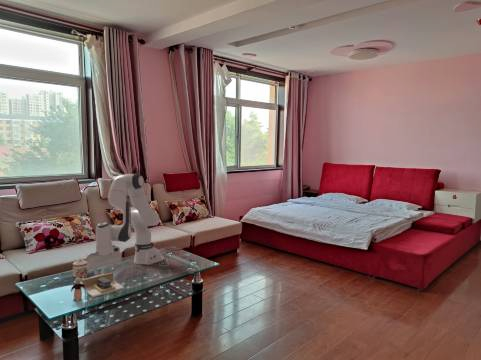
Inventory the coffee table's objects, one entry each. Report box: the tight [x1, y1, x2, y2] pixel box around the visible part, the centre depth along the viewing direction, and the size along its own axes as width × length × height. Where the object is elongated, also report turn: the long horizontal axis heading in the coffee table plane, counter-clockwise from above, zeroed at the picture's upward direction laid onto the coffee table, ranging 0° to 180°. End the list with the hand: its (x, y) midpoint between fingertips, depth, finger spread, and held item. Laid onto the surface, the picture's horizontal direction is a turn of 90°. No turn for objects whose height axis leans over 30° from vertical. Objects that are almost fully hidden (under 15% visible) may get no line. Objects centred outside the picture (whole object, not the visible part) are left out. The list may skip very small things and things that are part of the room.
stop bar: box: [97, 277, 111, 290], centre depth 206 cm, size 8×4×5 cm, turn 52°
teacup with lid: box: [72, 258, 91, 278], centre depth 227 cm, size 12×9×12 cm
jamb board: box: [73, 272, 125, 298], centre depth 211 cm, size 19×29×6 cm, turn 45°
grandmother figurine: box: [70, 277, 86, 302], centre depth 191 cm, size 8×4×13 cm, turn 126°
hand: (104, 272), depth 205 cm, fingers open, 8 cm apart
